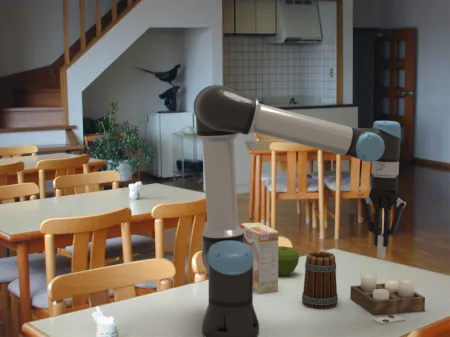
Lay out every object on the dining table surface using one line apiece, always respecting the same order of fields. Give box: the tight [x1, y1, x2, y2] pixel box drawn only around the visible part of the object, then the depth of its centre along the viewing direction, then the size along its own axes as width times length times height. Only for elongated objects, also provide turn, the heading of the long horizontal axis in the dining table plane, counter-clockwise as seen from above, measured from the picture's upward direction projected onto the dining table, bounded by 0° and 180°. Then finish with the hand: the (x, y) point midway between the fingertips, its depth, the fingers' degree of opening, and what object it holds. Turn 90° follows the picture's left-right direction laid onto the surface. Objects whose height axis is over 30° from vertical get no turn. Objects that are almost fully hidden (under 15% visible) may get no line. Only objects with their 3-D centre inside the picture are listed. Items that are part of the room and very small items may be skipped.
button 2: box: [373, 289, 389, 301], centre depth 213 cm, size 5×5×5 cm
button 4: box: [397, 278, 415, 298], centre depth 215 cm, size 5×5×5 cm
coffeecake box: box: [240, 221, 279, 295], centre depth 235 cm, size 15×7×20 cm, turn 21°
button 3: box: [384, 278, 399, 290], centre depth 223 cm, size 5×5×5 cm
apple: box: [278, 245, 300, 277], centre depth 250 cm, size 11×10×10 cm
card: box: [371, 314, 406, 326], centre depth 205 cm, size 8×4×1 cm, turn 115°
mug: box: [301, 248, 339, 310], centre depth 221 cm, size 16×11×15 cm
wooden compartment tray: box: [349, 282, 426, 317], centre depth 218 cm, size 16×16×4 cm
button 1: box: [360, 273, 378, 292], centre depth 220 cm, size 5×5×5 cm
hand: (380, 257), depth 211 cm, fingers closed
